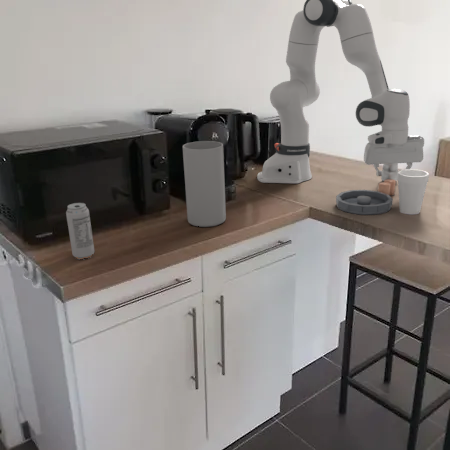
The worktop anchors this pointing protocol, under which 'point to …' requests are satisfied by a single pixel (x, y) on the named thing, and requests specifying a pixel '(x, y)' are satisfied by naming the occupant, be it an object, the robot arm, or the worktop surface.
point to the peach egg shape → (391, 185)
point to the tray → (370, 209)
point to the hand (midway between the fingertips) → (392, 175)
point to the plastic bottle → (390, 171)
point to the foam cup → (411, 190)
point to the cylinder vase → (204, 183)
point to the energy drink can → (80, 230)
